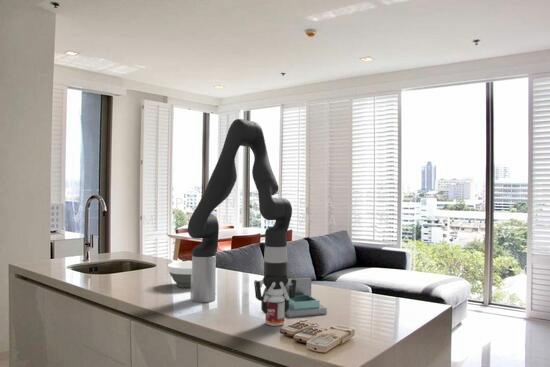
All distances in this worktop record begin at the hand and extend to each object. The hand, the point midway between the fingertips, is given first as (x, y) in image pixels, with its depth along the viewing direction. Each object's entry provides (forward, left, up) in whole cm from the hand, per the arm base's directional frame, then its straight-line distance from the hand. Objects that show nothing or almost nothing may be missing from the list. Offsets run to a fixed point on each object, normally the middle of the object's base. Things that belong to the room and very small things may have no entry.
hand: (275, 312), depth 141 cm
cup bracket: (+14, +12, -4) cm, 19 cm away
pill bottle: (0, 0, -4) cm, 4 cm away
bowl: (-17, +66, -4) cm, 68 cm away
